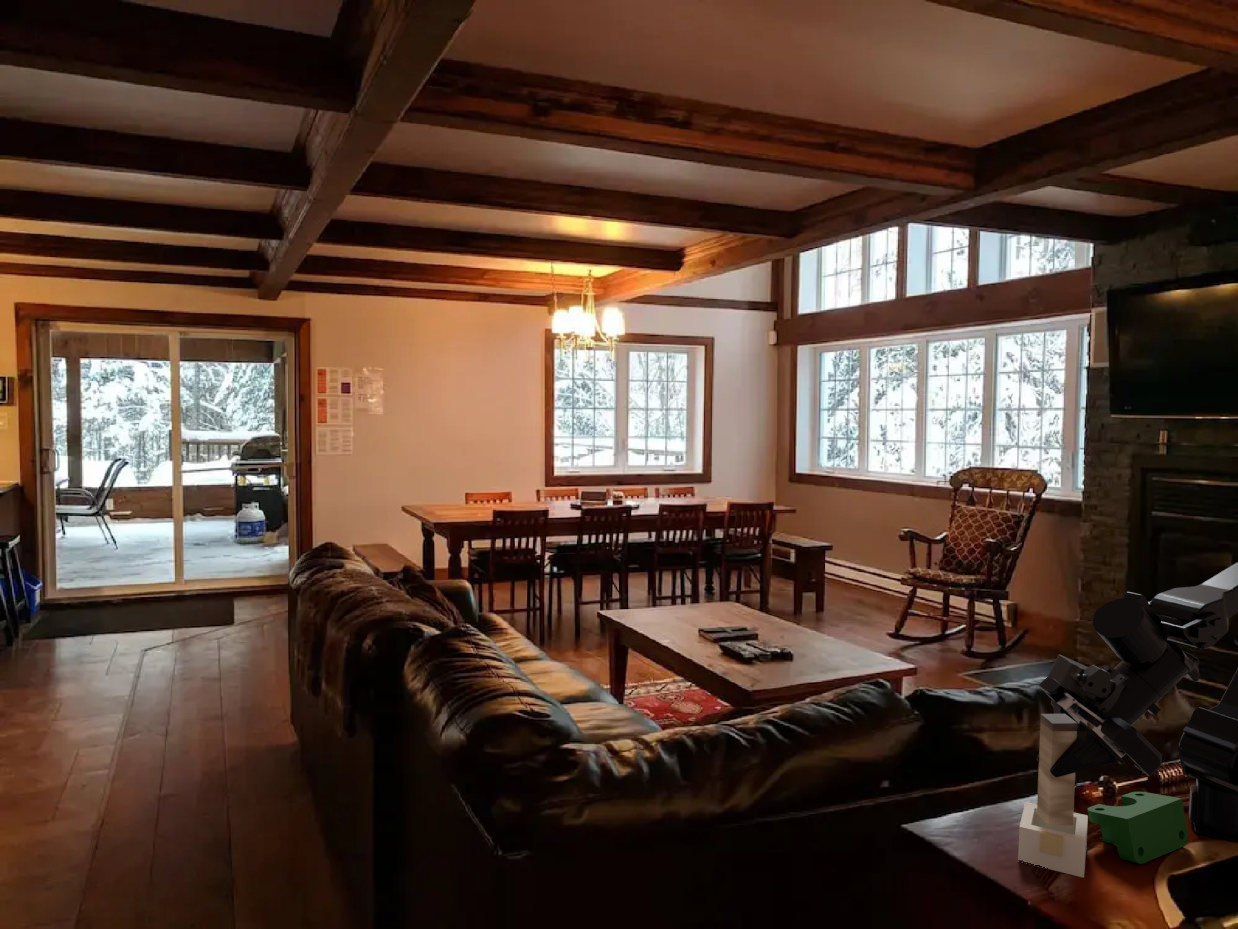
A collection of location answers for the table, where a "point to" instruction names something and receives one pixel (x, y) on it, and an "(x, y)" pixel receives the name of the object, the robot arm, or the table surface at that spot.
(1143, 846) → the clamp
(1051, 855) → the white labeled box
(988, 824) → the table surface
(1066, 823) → the tall wooden post
